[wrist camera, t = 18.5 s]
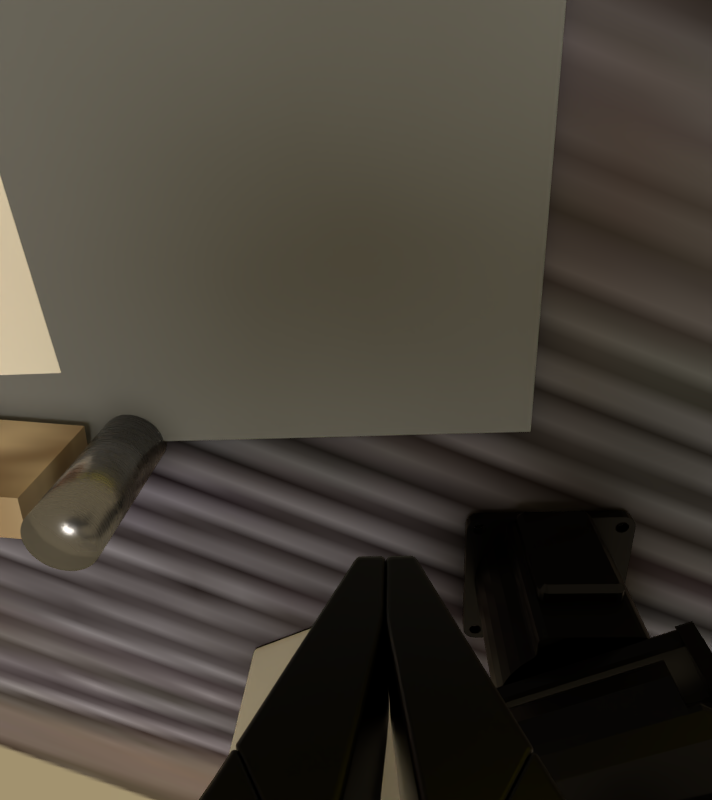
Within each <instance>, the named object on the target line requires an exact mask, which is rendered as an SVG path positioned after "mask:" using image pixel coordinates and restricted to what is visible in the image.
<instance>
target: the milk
mask: <svg viewBox="0 0 712 800" xmlns="http://www.w3.org/2000/svg"><path fill="white" fill-rule="evenodd" d="M310 629H311V628H310ZM310 629H308V630H305V631H302V632H300V633H297V634H294V635H292V636H289V637H286V638H284V639H281V640H278V641H276V642H273V643H270V644H268V645H265V646H262V647H260V648H257V649H256V650H255V651H254V654H253V658H252V662H251V666H250V671H249V675H248V679H247V683H246V687H245V691H244V695H243V699H242V703H241V708H240V712H239V716H238V720H237V724H236V728H235V732H234V736H233V740H232V745H231V749H230V752H231V751H232V750H236V743H237V742H238V740H239V739H240V737H241V736H242V734H243V733H244V731H245V730H246V728H247V726H248V725H249V723H250V722H251V720H252V719H253V717H254V716H255V714H256V712H257V711H258V709H259V708H260V706H261V705H262V703H263V702H264V700H265V699H266V697H267V695H268V694H269V692H270V691H271V689H272V688H273V686H274V685H275V683H276V682H277V680H278V678H279V677H280V675H281V674H282V672H283V671H284V669H285V668H286V666H287V665H288V663H289V661H290V660H291V658H292V657H293V655H294V654H295V652H296V651H297V649H298V648H299V646H300V644H301V643H302V641H303V640H304V638H305V637H306V635H307V634H308V632H309V631H310ZM229 754H230V753H229ZM381 800H400V794H399V786H398V778H397V771H396V763H395V755H394V747H393V740H392V731H391V721H390V704H389V721H388V734H387V744H386V753H385V762H384V772H383V781H382V790H381Z"/></svg>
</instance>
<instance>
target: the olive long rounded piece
mask: <svg viewBox="0 0 712 800" xmlns="http://www.w3.org/2000/svg"><path fill="white" fill-rule="evenodd" d="M166 447H167V441H164V440H163V437H162V435H161V433H160V432H159V430H158V429H157V428H156V427H155V426H154V425H153V424H152V423H150V422H149V421H147V420H146V419H144V418H141V417H139V416H135V415H120V416H117V417H114V418H112V419H111V420H110V421H108V422H107V424H106V425H105V426H104V427H103V428H102V429H101V430H100V432H99V433H98V434H97V435H96V436H95V437H94V439H93V440H92V441H91V442H90V443H89V444H88V446H87V447H86V448H85V449H84V450H83V451H82V452H81V454H80V455H79V456H78V457H77V458H76V459H75V461H74V462H73V463H72V464H71V465H70V466H69V467H68V469H67V470H66V471H65V472H64V473H63V474H62V476H61V477H60V478H59V479H58V480H57V481H56V483H55V484H54V485H53V486H52V487H51V488H50V489H49V491H48V492H47V493H46V494H45V495H44V496H43V498H42V499H41V500H40V501H39V502H38V503H37V505H36V506H35V507H34V508H33V509H32V510H31V511H30V513H29V514H28V515H27V516H26V517H25V519H24V520H23V522H22V524H21V529H20V533H21V538H22V541H23V543H24V545H25V547H26V548H27V550H28V551H29V552H30V553H31V554H32V555H33V556H34V557H35V558H36V559H38V560H39V561H41V562H42V563H44V564H46V565H48V566H50V567H53V568H56V569H60V570H66V571H77V570H82V569H85V568H87V567H89V566H91V565H92V564H93V563H95V562H96V560H97V559H98V557H99V556H100V554H101V553H102V551H103V549H104V548H105V546H106V545H107V543H108V541H109V540H110V538H111V537H112V535H113V534H114V532H115V530H116V529H117V527H118V526H119V524H120V522H121V521H122V519H123V518H124V516H125V515H126V513H127V511H128V510H129V508H130V507H131V505H132V503H133V502H134V500H135V499H136V497H137V496H138V494H139V492H140V491H141V489H142V488H143V486H144V484H145V483H146V481H147V480H148V478H149V476H150V475H151V473H152V472H153V470H154V469H155V467H156V465H157V464H158V462H159V461H160V459H161V457H162V456H163V454H164V453H165V451H166Z"/></svg>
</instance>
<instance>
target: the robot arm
mask: <svg viewBox="0 0 712 800" xmlns="http://www.w3.org/2000/svg"><path fill="white" fill-rule="evenodd" d="M622 522H625V523H624V524H623V525H621V526H616V525H617V524H619V523H622ZM479 524H480V525H483V527H481V528H474V527H475V526H476V525H479ZM634 532H635V522H634V520H633V519H632V517H631V516H630V514H629V513H627V512H625V511H572V512H521V513H477V514H473V515H471V516H469V517H468V519H467V520H466V524H465V559H464V593H463V628H464V633H465V634H466V635H468V636H470V637H475V638H478V637H484V643H485V649H486V654H487V660H488V666H489V672H490V677H491V679H490V677H489V676H488V674H487V672H486V671H485V669H484V667H483V666H482V664H481V663H480V661H479V659H478V658H477V656H476V654H475V653H474V651H473V650H472V648H471V646H470V645H469V643H468V642H467V640H466V638H465V637H464V635H463V633H462V632H461V630H460V629H459V627H458V625H457V624H456V622H455V620H454V619H453V617H452V616H451V614H450V612H449V611H448V609H447V608H446V606H445V604H444V603H443V601H442V599H441V598H440V596H439V595H438V593H437V591H436V590H435V588H434V586H433V585H432V583H431V582H430V580H429V578H428V577H427V575H426V573H425V572H424V570H423V569H422V567H421V565H420V564H419V562H418V561H417V559H416V558H415V557H413V556H390V557H388V558H387V560H385V558H384V557H382V556H362V557H358V558H357V559H356V560H355V561H354V562H353V564H352V566H351V567H350V569H349V570H348V572H347V573H346V575H345V576H344V578H343V579H342V581H341V583H340V584H339V586H338V587H337V589H336V590H335V592H334V593H333V595H332V596H331V598H330V600H329V601H328V603H327V604H326V606H325V607H324V609H323V610H322V612H321V614H320V615H319V617H318V618H317V620H316V621H315V623H314V624H313V626H312V627H311V629H310V631H309V632H308V634H307V635H306V637H305V638H304V640H303V641H302V643H301V644H300V646H299V648H298V649H297V651H296V652H295V654H294V655H293V657H292V658H291V660H290V661H289V663H288V665H287V666H286V668H285V669H284V671H283V672H282V674H281V675H280V677H279V678H278V680H277V682H276V683H275V685H274V686H273V688H272V689H271V691H270V692H269V694H268V695H267V697H266V699H265V700H264V702H263V703H262V705H261V706H260V708H259V709H258V711H257V712H256V714H255V716H254V717H253V719H252V720H251V722H250V723H249V725H248V726H247V728H246V730H245V731H244V733H243V734H242V736H241V737H240V739H239V740H238V742H237V743H236V750H232V751H231V752H230V754H229V755H228V757H227V758H226V760H225V761H224V763H223V765H222V766H221V768H220V769H219V771H218V772H217V774H216V775H215V777H214V779H213V780H212V781H211V783H210V784H209V786H208V787H207V789H206V790H205V792H204V793H203V795H202V796H201V797H200V799H199V800H381V790H382V781H383V772H384V762H385V753H386V744H387V734H388V721H389V704H390V721H391V731H392V740H393V747H394V755H395V763H396V771H397V778H398V786H399V794H400V800H712V652H711V650H710V649H709V647H708V646H707V644H706V642H705V641H704V639H703V638H702V636H701V634H700V633H699V631H698V630H697V628H696V627H695V625H694V623H693V622H692V621H691V622H688V623H685V624H682V625H679V626H675V628H676V630H674V631H671V632H668V633H665V634H662V635H658V636H655V637H652V638H651V637H650V635H649V633H648V631H647V629H646V627H645V625H644V623H643V621H642V619H641V617H640V615H639V613H638V610H637V608H636V606H635V604H634V602H633V600H632V598H631V596H630V594H629V592H628V590H627V588H626V586H625V580H626V574H627V569H628V564H629V559H630V553H631V548H632V543H633V538H634ZM473 625H477V626H473Z"/></svg>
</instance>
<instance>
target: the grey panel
mask: <svg viewBox="0 0 712 800" xmlns="http://www.w3.org/2000/svg"><path fill="white" fill-rule="evenodd" d="M565 10H566V0H0V420H13V421H26V422H39V423H52V424H65V425H78V426H84V427H85V432H86V438H87V443H90V442H91V441H92V440H93V439H94V437H95V436H96V435H97V434H98V433H99V432H100V430H101V429H102V428H103V427H104V426H105V425H106V424H107V422H108V421H110V420H111V419H112V418H114V417H117V416H120V415H135V416H139V417H141V418H144V419H146V420H147V421H149V422H150V423H152V424H153V425H154V426H155V427H156V428H157V429H158V430H159V432H160V433H161V435H162V437H163V440H164V441H195V440H233V439H271V438H309V437H347V436H385V435H423V434H461V433H499V432H531V420H532V407H533V395H534V383H535V371H536V359H537V347H538V335H539V323H540V311H541V299H542V287H543V275H544V263H545V251H546V239H547V227H548V215H549V203H550V191H551V179H552V166H553V154H554V142H555V130H556V118H557V106H558V94H559V82H560V70H561V58H562V46H563V34H564V22H565Z"/></svg>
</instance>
